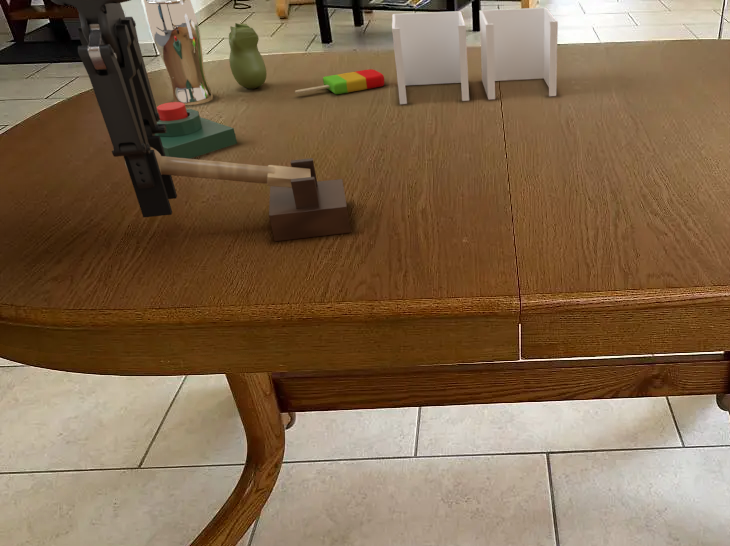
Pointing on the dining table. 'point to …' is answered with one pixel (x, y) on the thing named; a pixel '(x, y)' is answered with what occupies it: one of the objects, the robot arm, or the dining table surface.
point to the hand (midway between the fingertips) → (160, 205)
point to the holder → (308, 207)
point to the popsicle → (350, 82)
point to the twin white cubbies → (498, 48)
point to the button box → (194, 136)
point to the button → (172, 111)
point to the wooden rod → (230, 171)
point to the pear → (246, 57)
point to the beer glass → (179, 48)
